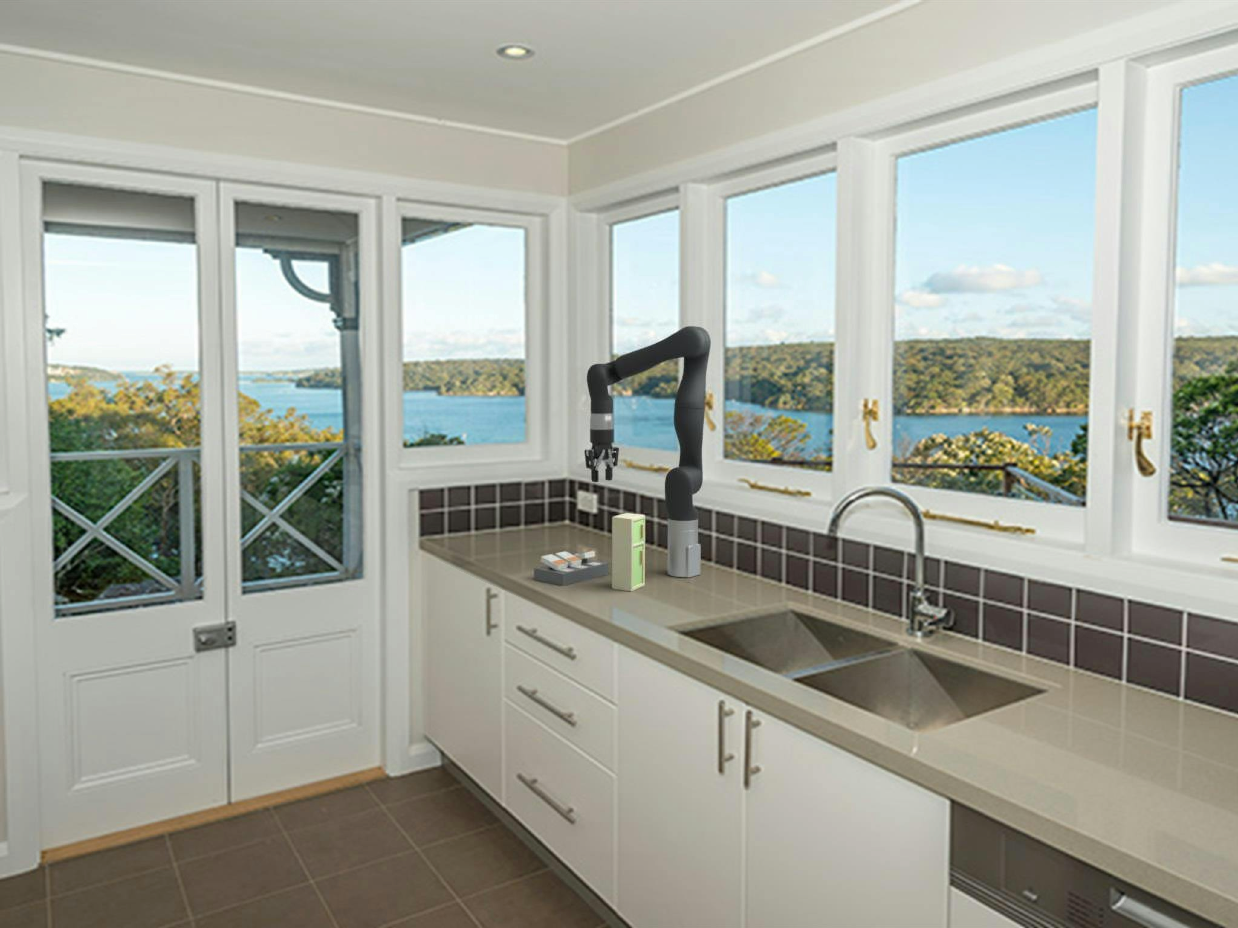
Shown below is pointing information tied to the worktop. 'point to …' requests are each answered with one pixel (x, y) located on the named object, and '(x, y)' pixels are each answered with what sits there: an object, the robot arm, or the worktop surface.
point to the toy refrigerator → (628, 551)
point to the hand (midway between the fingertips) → (602, 480)
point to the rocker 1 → (554, 562)
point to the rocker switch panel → (572, 572)
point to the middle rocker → (569, 558)
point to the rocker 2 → (585, 555)
